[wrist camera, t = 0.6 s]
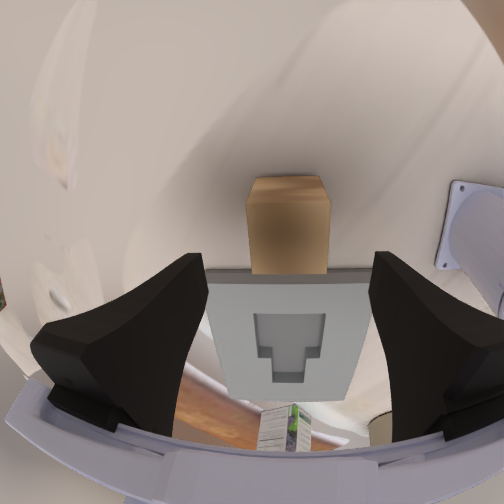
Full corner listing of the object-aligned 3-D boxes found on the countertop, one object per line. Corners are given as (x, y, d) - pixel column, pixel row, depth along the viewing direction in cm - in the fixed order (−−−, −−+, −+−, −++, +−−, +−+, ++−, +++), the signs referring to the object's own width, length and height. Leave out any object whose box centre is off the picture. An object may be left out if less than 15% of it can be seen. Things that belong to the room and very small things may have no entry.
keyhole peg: (316, 170, 18) (330, 202, 12) (316, 223, 20) (326, 273, 14) (258, 172, 18) (245, 203, 13) (262, 224, 20) (252, 274, 15)
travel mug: (387, 430, 37) (394, 513, 22) (358, 426, 36) (362, 519, 21) (420, 411, 33) (435, 500, 18) (394, 405, 32) (407, 509, 17)
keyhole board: (373, 268, 21) (379, 282, 19) (342, 387, 30) (344, 400, 28) (206, 269, 23) (199, 283, 21) (232, 386, 32) (230, 398, 30)
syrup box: (312, 417, 35) (310, 503, 22) (279, 424, 37) (270, 504, 24) (295, 403, 33) (289, 500, 20) (259, 411, 35) (246, 500, 22)
